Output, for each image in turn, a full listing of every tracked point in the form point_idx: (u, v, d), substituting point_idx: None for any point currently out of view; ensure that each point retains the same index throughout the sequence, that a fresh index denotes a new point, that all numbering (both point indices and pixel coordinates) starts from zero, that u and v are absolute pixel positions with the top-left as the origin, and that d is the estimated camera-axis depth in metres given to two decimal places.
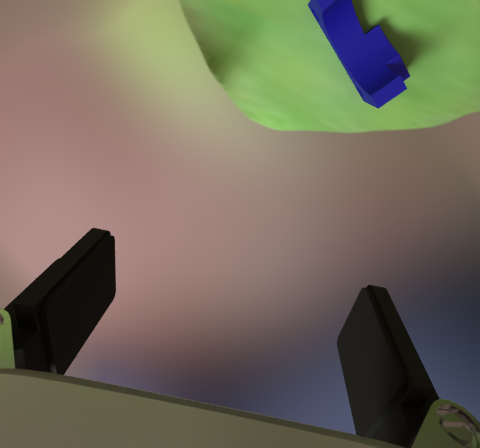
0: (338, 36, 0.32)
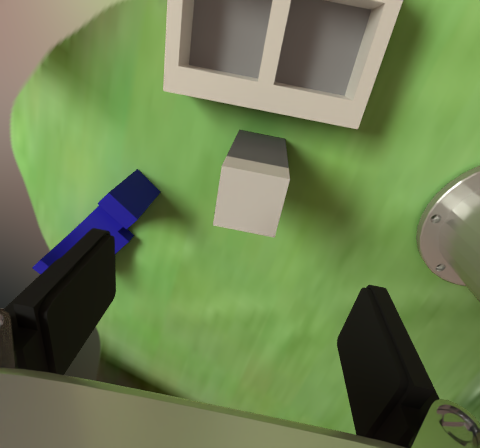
0: None
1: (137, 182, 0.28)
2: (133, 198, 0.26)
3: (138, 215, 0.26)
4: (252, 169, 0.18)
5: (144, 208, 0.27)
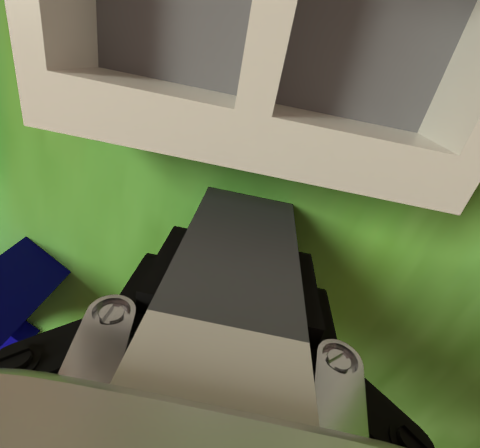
0: None
1: (17, 265, 0.16)
2: None
3: None
4: (206, 384, 0.06)
5: (19, 321, 0.14)
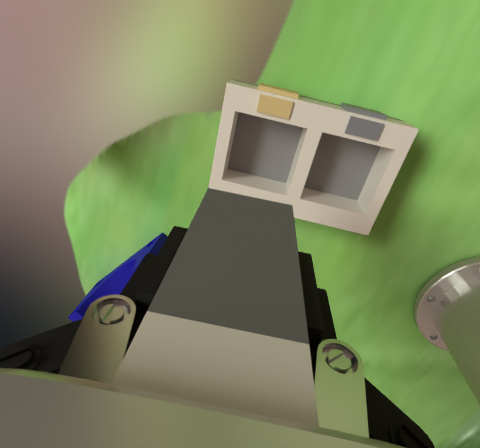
0: (135, 265, 0.34)
1: None
2: None
3: None
4: (206, 386, 0.06)
5: None
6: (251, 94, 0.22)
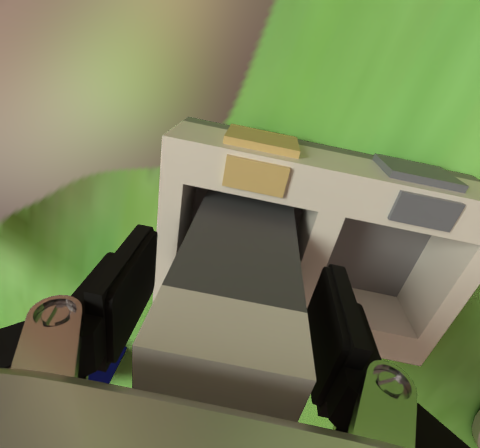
0: None
1: None
2: None
3: None
4: (216, 344, 0.07)
5: None
6: (211, 156, 0.12)
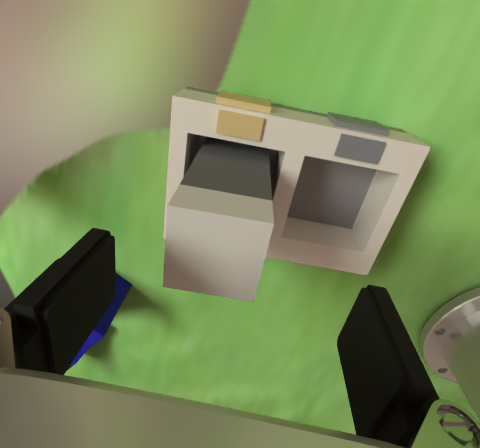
0: None
1: None
2: None
3: (105, 330, 0.24)
4: (216, 208, 0.12)
5: (112, 316, 0.25)
6: (207, 110, 0.16)
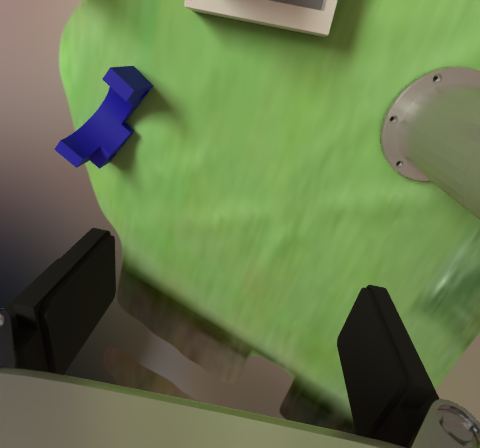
0: (112, 100, 0.37)
1: (133, 72, 0.35)
2: (130, 79, 0.33)
3: (134, 88, 0.32)
4: None
5: (139, 87, 0.34)
6: None
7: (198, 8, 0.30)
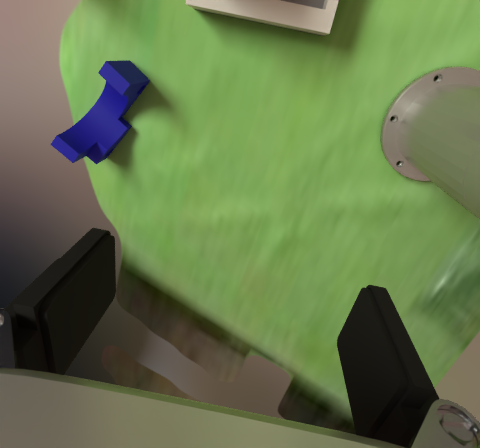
0: (108, 95, 0.37)
1: (129, 67, 0.35)
2: (126, 73, 0.33)
3: (130, 82, 0.32)
4: None
5: (135, 81, 0.33)
6: None
7: (199, 6, 0.30)
